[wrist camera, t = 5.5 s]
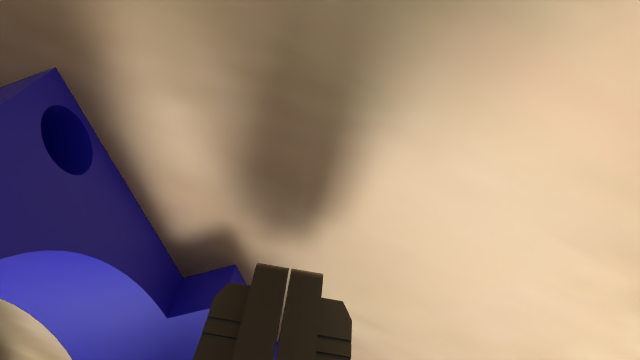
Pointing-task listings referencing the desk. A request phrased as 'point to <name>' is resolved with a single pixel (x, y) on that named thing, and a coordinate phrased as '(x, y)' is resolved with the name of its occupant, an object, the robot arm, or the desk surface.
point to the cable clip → (87, 238)
